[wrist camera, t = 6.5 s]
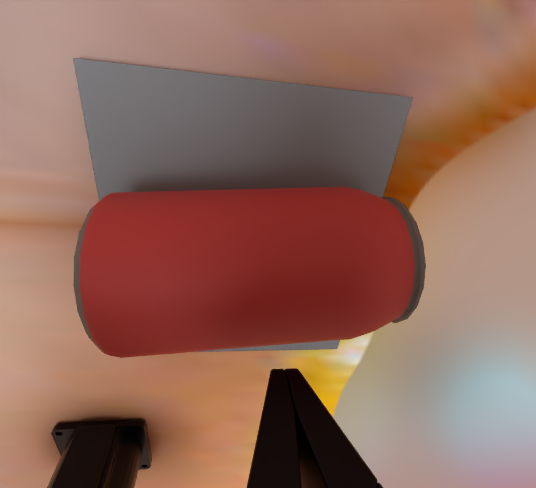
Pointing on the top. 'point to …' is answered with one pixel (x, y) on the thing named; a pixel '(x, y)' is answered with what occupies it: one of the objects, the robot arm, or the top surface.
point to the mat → (233, 135)
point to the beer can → (243, 268)
